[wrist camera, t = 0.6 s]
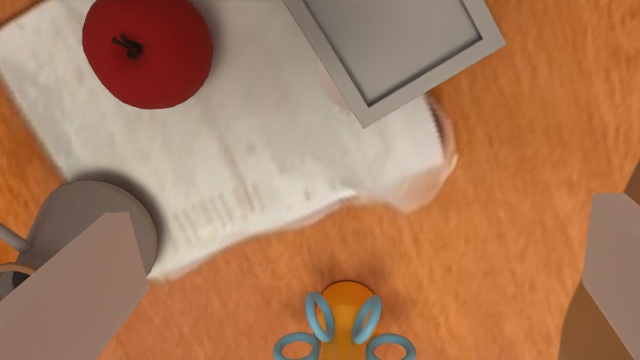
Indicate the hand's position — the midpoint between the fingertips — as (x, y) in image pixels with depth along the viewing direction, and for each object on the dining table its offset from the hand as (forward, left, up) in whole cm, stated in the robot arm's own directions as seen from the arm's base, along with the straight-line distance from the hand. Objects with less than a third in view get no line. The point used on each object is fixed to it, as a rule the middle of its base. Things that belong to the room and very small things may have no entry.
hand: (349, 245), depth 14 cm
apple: (-12, -12, -28) cm, 32 cm away
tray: (-6, +4, -27) cm, 28 cm away
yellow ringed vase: (+17, -13, -28) cm, 35 cm away
